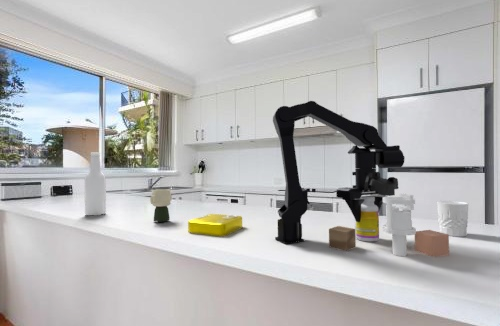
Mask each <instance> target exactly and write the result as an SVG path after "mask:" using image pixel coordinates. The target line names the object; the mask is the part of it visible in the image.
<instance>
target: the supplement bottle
mask: <svg viewBox="0 0 500 326" xmlns="http://www.w3.org/2000/svg"><path fill="white" fill-rule="evenodd" d="M361 199H365V200H364V202H363V203H362V204H361V219H360V222H357V221H356V220H355V219H354V229H355V239H356V240H359V241H362V242H370V243H371V242H378V241H379V240H380V218H379V217H380V216H379V213H380V210H379V209H378V207H377V206H376V205H375V204H374V201H375V197H374V196H369V195H362V196H361Z"/></svg>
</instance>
